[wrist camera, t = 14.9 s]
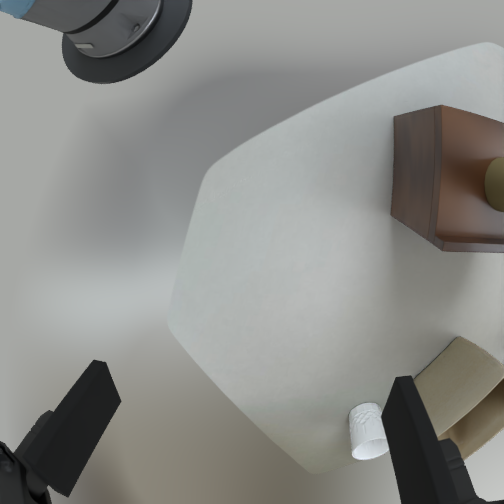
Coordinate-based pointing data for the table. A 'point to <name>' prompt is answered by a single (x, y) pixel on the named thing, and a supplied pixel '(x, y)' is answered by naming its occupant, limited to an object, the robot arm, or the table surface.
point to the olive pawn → (495, 184)
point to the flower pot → (464, 395)
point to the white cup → (367, 432)
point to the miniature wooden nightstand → (447, 178)
